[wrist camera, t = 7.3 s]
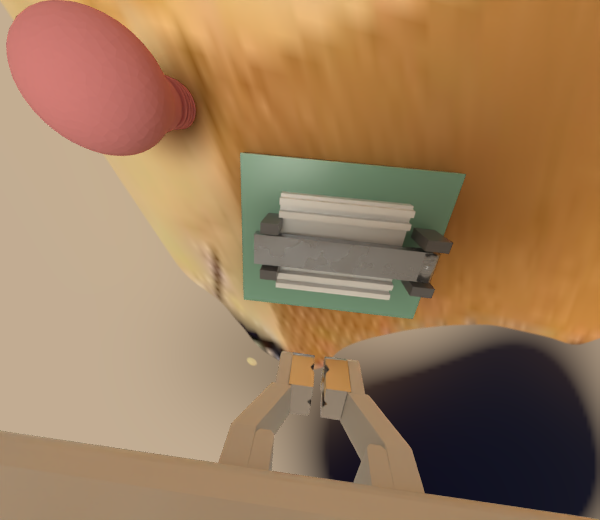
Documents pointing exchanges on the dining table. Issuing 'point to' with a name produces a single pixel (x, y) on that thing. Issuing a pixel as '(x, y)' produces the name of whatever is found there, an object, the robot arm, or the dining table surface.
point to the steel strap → (345, 257)
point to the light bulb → (94, 79)
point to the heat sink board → (342, 226)
